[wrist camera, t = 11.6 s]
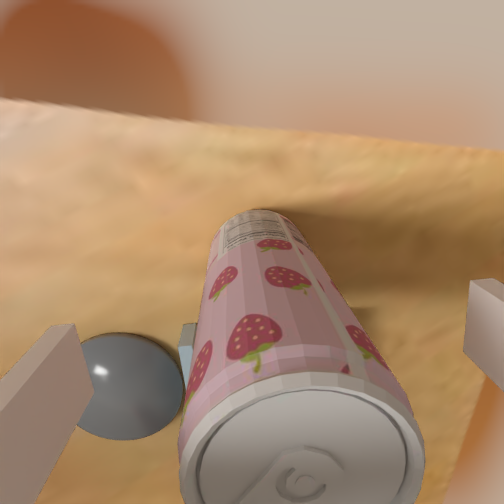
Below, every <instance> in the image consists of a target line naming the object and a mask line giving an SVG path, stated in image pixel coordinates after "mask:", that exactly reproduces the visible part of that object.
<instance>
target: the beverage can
mask: <svg viewBox="0 0 504 504" xmlns="http://www.w3.org/2000/svg"><path fill="white" fill-rule="evenodd" d="M178 454H179V463H180V469H179V480H180V491H181V494H182V497H183V500H184V502H185V504H414V503H415V500H416V498H417V496H418V494H419V492H420V490H421V485H422V480H423V475H424V469H425V450H424V440H423V437H422V435H421V432H420V429H419V427H418V424H417V422H416V420H415V419H414V417H413V411H412V409H411V406H410V403H409V401H408V398H407V395H406V393H405V392H404V390H403V389H402V387H401V386H400V384H399V383H398V381H397V380H396V378H395V377H394V375H393V373H392V372H391V370H390V369H389V367H388V366H387V364H386V363H385V361H384V360H383V358H382V357H381V355H380V354H379V352H378V351H377V349H376V347H375V346H374V344H373V343H372V341H371V340H370V338H369V337H368V335H367V334H366V332H365V331H364V329H363V328H362V326H361V324H360V323H359V321H358V320H357V318H356V317H355V315H354V314H353V312H352V311H351V309H350V308H349V306H348V305H347V303H346V302H345V300H344V298H343V297H342V295H341V294H340V292H339V291H338V289H337V288H336V286H335V285H334V283H333V282H332V280H331V279H330V277H329V275H328V274H327V272H326V271H325V269H324V268H323V266H322V265H321V263H320V262H319V260H318V259H317V257H316V256H315V254H314V253H313V251H312V249H311V248H310V246H309V245H308V243H307V242H306V240H305V239H304V237H303V236H302V234H301V233H300V231H299V230H298V228H297V227H296V226H295V225H294V224H293V223H292V222H291V221H290V220H289V219H288V218H286V217H284V216H282V215H281V214H279V213H276V212H272V211H269V210H259V209H258V210H249V211H245V212H242V213H239V214H237V215H235V216H234V217H232V218H230V219H229V220H228V221H226V222H225V223H224V224H223V225H222V226H221V227H220V229H219V230H218V231H217V233H216V234H215V236H214V239H213V241H212V243H211V249H210V254H209V260H208V266H207V272H206V278H205V284H204V290H203V295H202V301H201V307H200V313H199V319H198V325H197V331H196V337H195V343H194V349H193V355H192V360H191V366H190V372H189V378H188V384H187V390H186V396H185V402H184V408H183V414H182V420H181V425H180V431H179V437H178Z"/></svg>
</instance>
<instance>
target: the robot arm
mask: <svg viewBox="0 0 504 504" xmlns="http://www.w3.org/2000/svg"><path fill="white" fill-rule="evenodd" d="M463 352H464V353H465V354H466V355H467V356H468V357H469V358H470V359H471V360H472V361H473V362H474V363H475V364H476V365H477V366H478V367H479V368H480V369H481V370H482V371H483V372H484V373H485V374H486V375H487V376H488V377H489V378H490V379H491V380H492V381H493V382H494V383H495V384H496V385H497V386H498V387H499V388H500V389H501V390H503V392H504V284H503V283H501V282H499V281H498V280H496V279H494V278H488V279H478V280H470V286H469V296H468V306H467V316H466V326H465V336H464V346H463ZM93 394H94V389H93V385H92V382H91V379H90V375H89V372H88V368H87V365H86V361H85V358H84V355H83V351H82V348H81V344H80V341H79V337H78V334H77V331H76V327H75V324H74V323H73V324H64V325H55V326H51V327H50V328H49V329H48V330H47V331H46V332H45V333H44V334H43V335H42V336H41V337H40V338H39V339H38V340H37V342H36V343H35V344H34V345H33V346H32V347H31V348H30V349H29V350H28V351H27V352H26V353H25V354H24V355H23V356H22V357H21V359H20V360H19V361H18V362H17V363H16V364H15V365H14V366H13V367H12V368H11V369H10V370H9V371H8V372H7V373H6V375H5V376H4V377H3V378H2V379H1V380H0V504H34V503H35V501H36V499H37V497H38V495H39V494H40V492H41V490H42V488H43V486H44V484H45V483H46V481H47V479H48V477H49V475H50V473H51V471H52V470H53V468H54V466H55V464H56V462H57V460H58V458H59V457H60V455H61V453H62V451H63V449H64V447H65V446H66V444H67V442H68V440H69V438H70V436H71V434H72V433H73V431H74V429H75V427H76V425H77V423H78V421H79V420H80V418H81V416H82V414H83V412H84V410H85V408H86V407H87V405H88V403H89V401H90V399H91V397H92V396H93Z"/></svg>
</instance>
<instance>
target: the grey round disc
mask: <svg viewBox="0 0 504 504" xmlns="http://www.w3.org/2000/svg"><path fill="white" fill-rule="evenodd" d="M80 344H81V348H82V351H83V355H84V358H85V361H86V365H87V368H88V372H89V375H90V379H91V382H92V385H93V389H94V394H93V396H92V397H91V399H90V401H89V403H88V405H87V407H86V408H85V410H84V412H83V414H82V416H81V418H80V420H79V421H78V423H77V425H78V426H79V427H80V428H82V429H84V430H85V431H87V432H89V433H91V434H94V435H96V436H99V437H102V438H107V439H112V440H134V439H140V438H144V437H147V436H150V435H152V434H154V433H156V432H158V431H160V430H161V429H162V428H164V427H165V426H166V425H167V424H168V423H170V422H171V420H172V419H173V418H174V417H175V415H176V413H177V411H178V409H179V407H180V404H181V399H182V394H183V379H182V375H181V372H180V369H179V367H178V365H177V364H176V362H175V360H174V359H173V358H172V357H171V355H170V354H169V353H168V352H167V351H166V350H165V349H163V348H162V347H161V346H159V345H158V344H156V343H154V342H153V341H151V340H149V339H146V338H144V337H141V336H137V335H134V334H128V333H107V334H102V335H98V336H95V337H92V338H90V339H87V340H85V341H84V342H82V343H80Z"/></svg>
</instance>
